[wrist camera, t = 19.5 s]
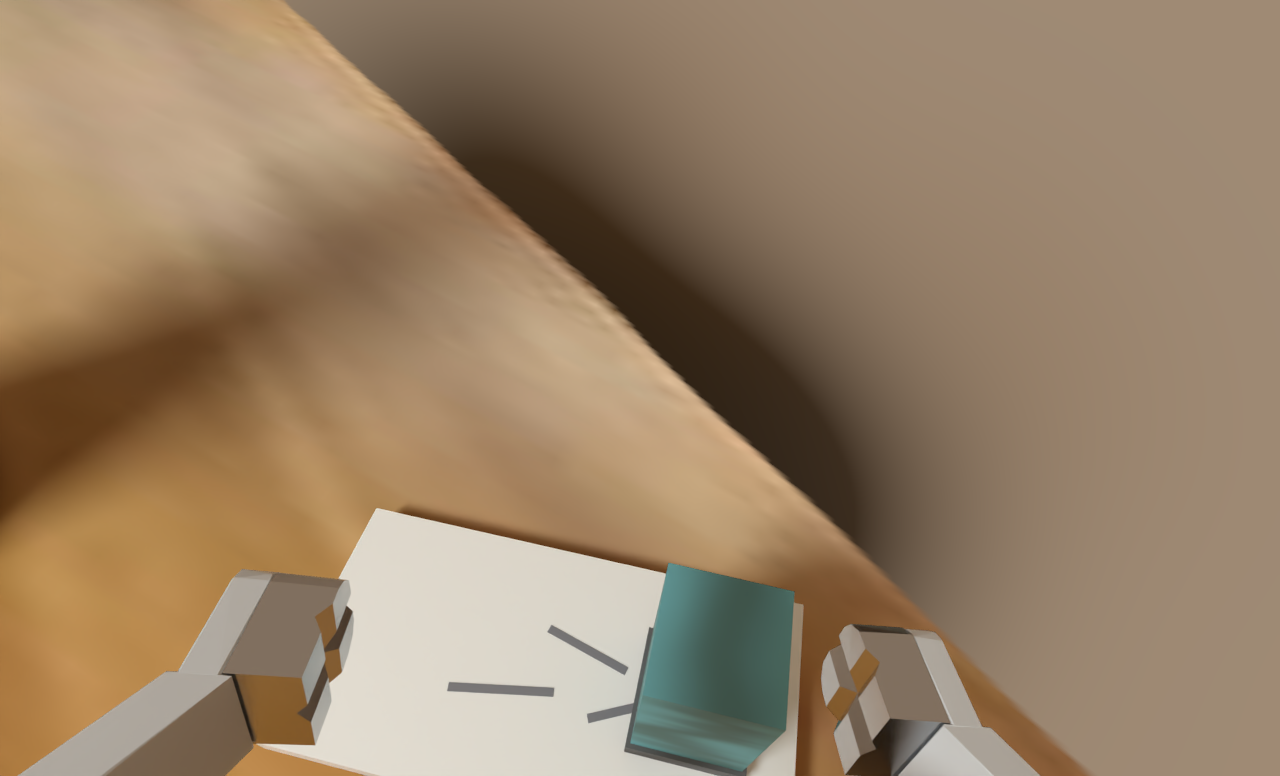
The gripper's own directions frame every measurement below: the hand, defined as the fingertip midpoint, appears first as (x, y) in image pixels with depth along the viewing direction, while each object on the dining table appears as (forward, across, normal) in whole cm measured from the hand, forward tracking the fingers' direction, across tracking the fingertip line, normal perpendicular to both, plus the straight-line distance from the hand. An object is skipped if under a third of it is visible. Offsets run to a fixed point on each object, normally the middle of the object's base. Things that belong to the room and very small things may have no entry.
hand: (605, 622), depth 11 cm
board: (+12, -1, +22) cm, 25 cm away
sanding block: (+10, -7, +20) cm, 23 cm away
